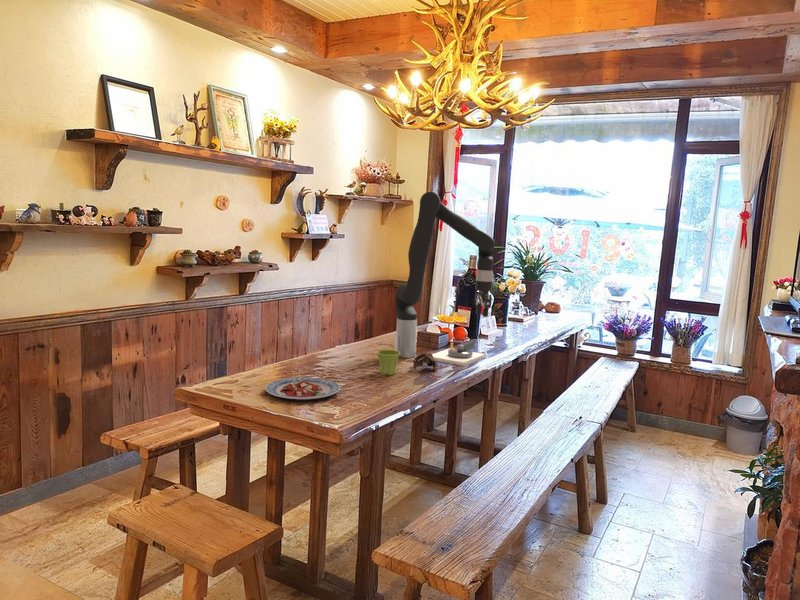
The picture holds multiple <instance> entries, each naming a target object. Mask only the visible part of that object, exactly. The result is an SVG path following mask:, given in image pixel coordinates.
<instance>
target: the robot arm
mask: <svg viewBox="0 0 800 600" xmlns="http://www.w3.org/2000/svg"><path fill="white" fill-rule="evenodd" d="M436 219H438V220H439V221H441V222H442V223H444V224H446V225H447V226H448V227H450V228H451V229H452V230H454V231H455V232H456V233H458V234H459V235H461V236H462V237H463V238H465V239H466V240H468V241H470V242H471V243H473V244H474V245H475V246H476V247H478V253H477V255H478V257H477V258H478V259H477V266H476V274H475V285H474V286H475V288H474V289H475V295H474V304H475V306H476V310H475V314H477V315H481V314H482V317H485V318H488V317H489V309H490V308H491V307H492V294H490V293H489V292H492V290H493V279H494V274H493V273H494V258H493V257H494V248H495V246H496V242H495V239H494V238H493V237H492V236H490V235H489V234H488V233H486V232H484V231H483V230H481V229H480V228H478V227H477V226H476V225H475V224H473V223H472V222H470V221H469V220H468V219H466V217H465V218H464V217H463V216H461V215H459V214H458V213H455V212H454V211H453V210H451V209H450V208H448V207H447V206H446V205H445V204H444V203H443V202H441V198H440V196H439V195H438V193H437V192H435V191H430V190H429V191H427V192H425V193H424V194H422V195H421V197H420V199H419V212H418V217H417V221H416V222H417V223H416V225H415V227H414V230H413V234H412V236H411V239H410V243H409V247H408V254H407V255H408V256H407V259H408V266H409V274H408V279H407V282H402V283H400V284H399V285H398V286H397V288H396V291H395V313H396V328H395V329H396V331H395V332H396V333H395V334H394V350H395V351H399V352H400V354H399V357H398V358H406V359H407V358H409V359H410V358H416V355H417V353H416V352H417V350H416V348H417V331H418V330H417V328H418V312H417V311H416V310H415V307H414V305H416V304H418V303H419V301H420V300H421V297H422V294H423V285H424V279H425V278H424V277H425V272H426V267H427V263H428V259H429V255H430V251H431V247H432V241H433V231H434V223H435V221H436ZM482 307H483V308H482Z"/></svg>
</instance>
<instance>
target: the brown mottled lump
mask: <svg viewBox="0 0 800 600" xmlns="http://www.w3.org/2000/svg"><path fill="white" fill-rule="evenodd" d="M432 354H433V353H432ZM432 354H431V353H428V352H423V353H420V354H419V355H417V356H415V357H414V359H413V360H412V363H413V365H412V366H413V369H415V370H416V369H417V368H419V367H421V368H423V367H424V364H426V366H427V367H432V369H433V370H434V373H437V371H438V367H437V363H436V362H437V361H435V360H434V358H433V356H432Z"/></svg>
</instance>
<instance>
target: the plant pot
mask: <svg viewBox="0 0 800 600" xmlns="http://www.w3.org/2000/svg"><path fill="white" fill-rule="evenodd" d="M376 354H377V357H378V363H379V372H380V374H381V375H383V376H384V375H388V376H392V375H395V374H396V371H397V367H398V366H397V365H398V360H399V359H398V358H400V357H399V354H400V352H399V351H395V349H382V350H377V351H376Z"/></svg>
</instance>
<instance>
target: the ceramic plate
mask: <svg viewBox="0 0 800 600" xmlns="http://www.w3.org/2000/svg"><path fill="white" fill-rule="evenodd" d="M264 389H265V391H266V392H267V393H268V394H269V395H271V396H275V397H278V398H284V399H289V400H294V399H295V400H296V401H307V400H316V399H320V398H322V399H323V398H326V397H331V396H332V395H336V394H337V393H338V392H339V391H340V389H341V387H340V385H339V384H338V383H337V382H334V381H332V380H330V379H329V380H328V379H325V378H320V377H306V376H303V377H301V376H300V377H287V378H281V379H277V380H274V381H271V382H269V383H267V385H266V386H265V388H264Z"/></svg>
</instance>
